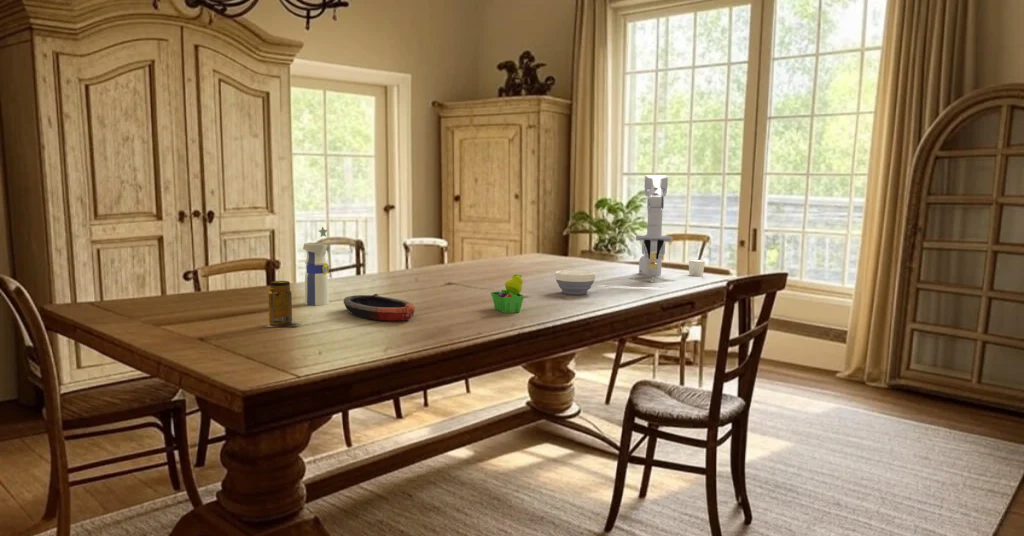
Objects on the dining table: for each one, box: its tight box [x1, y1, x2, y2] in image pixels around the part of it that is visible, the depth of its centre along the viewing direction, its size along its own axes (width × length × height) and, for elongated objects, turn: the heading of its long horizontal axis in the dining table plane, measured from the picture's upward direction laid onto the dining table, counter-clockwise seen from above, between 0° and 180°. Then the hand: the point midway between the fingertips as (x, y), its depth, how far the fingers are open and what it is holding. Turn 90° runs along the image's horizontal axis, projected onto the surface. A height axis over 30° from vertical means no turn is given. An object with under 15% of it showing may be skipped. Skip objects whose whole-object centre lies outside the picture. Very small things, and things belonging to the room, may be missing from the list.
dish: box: [343, 293, 416, 322], centre depth 212 cm, size 16×31×5 cm, turn 42°
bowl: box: [554, 269, 596, 296], centre depth 259 cm, size 14×14×8 cm
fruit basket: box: [490, 273, 525, 314], centre depth 224 cm, size 11×9×11 cm
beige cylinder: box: [688, 259, 706, 277], centre depth 311 cm, size 7×7×7 cm
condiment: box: [265, 280, 303, 328], centre depth 196 cm, size 7×8×12 cm
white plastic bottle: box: [302, 226, 330, 307], centre depth 229 cm, size 8×9×25 cm
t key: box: [648, 251, 658, 269], centre depth 290 cm, size 9×4×6 cm, turn 167°
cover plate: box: [628, 276, 677, 284], centre depth 291 cm, size 14×14×1 cm
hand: (653, 258), depth 290 cm, fingers closed on t key, 2 cm apart
